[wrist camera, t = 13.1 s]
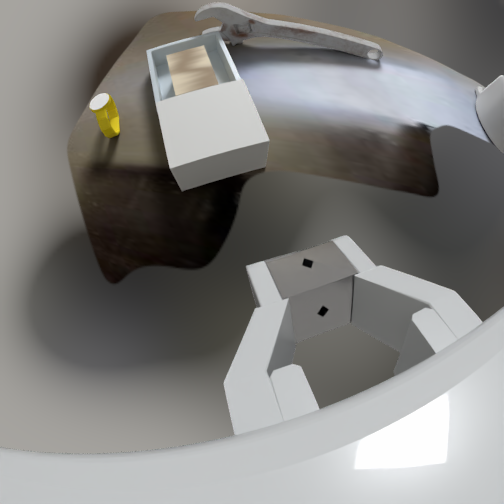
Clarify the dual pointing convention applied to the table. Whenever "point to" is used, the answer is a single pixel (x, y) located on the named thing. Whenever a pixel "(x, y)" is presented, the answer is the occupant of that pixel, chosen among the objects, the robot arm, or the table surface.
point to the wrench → (280, 30)
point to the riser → (212, 134)
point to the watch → (100, 107)
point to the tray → (211, 42)
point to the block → (191, 70)
